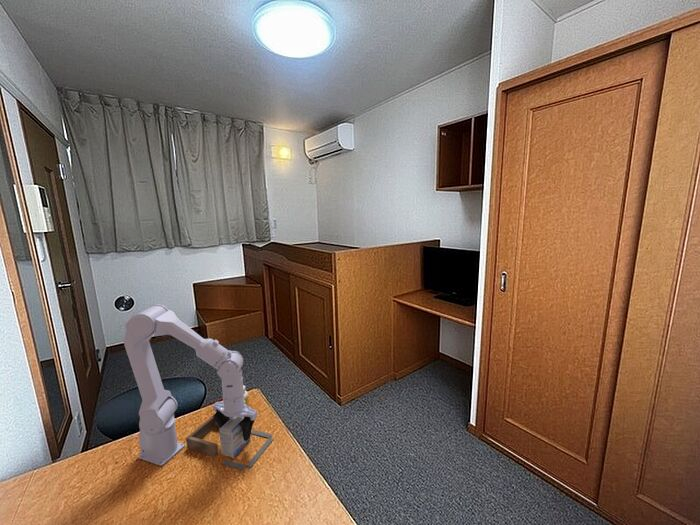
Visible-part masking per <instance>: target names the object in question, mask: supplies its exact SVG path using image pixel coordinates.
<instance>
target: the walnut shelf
mask: <svg viewBox="0 0 700 525" xmlns="http://www.w3.org/2000/svg"><path fill="white" fill-rule="evenodd" d="M214 428H218V429H220V426H219V425H218V423H217V422H216V421H215V420H214V419H213V415H212V416H211V417H209V418H208V419H207V420H206V421H204V422H203V423H202V424H201V425H200V426H199V427H197V428H196V429H195V430H193V432H191V433H190V434H189V435H188V436H186V437H185V442H186V449H187V450H191V451H194V452H197V453H201V454H204V455H206V456H210V457H214V458H217V457H218V456H219V455H220V454H219V446H218V443H215V442H211V441H208V440H205V439H203V438H204V437H206V436H207V435H208V434H209V433H210V432H211V431H212V430H213V429H214Z"/></svg>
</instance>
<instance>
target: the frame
mask: <svg viewBox="0 0 700 525" xmlns="http://www.w3.org/2000/svg"><path fill="white" fill-rule="evenodd" d="M251 435H254V436H258V437H262V438H266V441H265V442H264V443H263V445H262V446H261V447H260V448H259V450H258V451H257V452H256V453H255V454H254V456H253V457H252V458H251V459H250V461H249V462H248V463H247V464H243V463H240V462H236V461H233V460H230V459H227V458H226V459H225V460H224V461H222V463H221V464H222V465H224V466H227V467H230V468H232V469H233V468H234V469H236V470H238V471H239V470H240V471H244V470H245V469H246V468H247V467H248V468H253V466H254V465H255V464H256V463H257V461H258V460H259V459H260V457H261V455H263V453H264V452H265V451H266V450H267V449H268V447H269V446H270V444H271V443H272V442H273V441H274V438H271V437H272V436H273V434H271V433H269V432H268V433H267V432H264V431H259V430H255V429H252V430H251Z"/></svg>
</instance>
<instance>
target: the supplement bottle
mask: <svg viewBox="0 0 700 525" xmlns="http://www.w3.org/2000/svg"><path fill="white" fill-rule="evenodd" d="M243 390H244V400H245V402H246V403H245V404H246V405H247V406H249V407H250V402H249V393H248V391H247V390H246V385H244V384H243Z"/></svg>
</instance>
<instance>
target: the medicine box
mask: <svg viewBox="0 0 700 525" xmlns="http://www.w3.org/2000/svg"><path fill="white" fill-rule="evenodd" d="M243 419H244V417H230V420H229V421H227V422H226V423H225V424H224V425H223V426H222V427H221V428H218V431H219V439H220V440H219V442H220V449H221V451H220V452H221V455H223V456H225V457H230V458H232V459H233V458H235V457H236V456H237V455H238V454H239V453H240V451H242V449H243V448H244V447H245V446H246V445H247V443H249V441H251V437H250V438H249V439H248V440H247V441H244V438H243V432H242V428H241V426H240V425H239V423H240V422H241V421H242V420H243Z"/></svg>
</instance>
